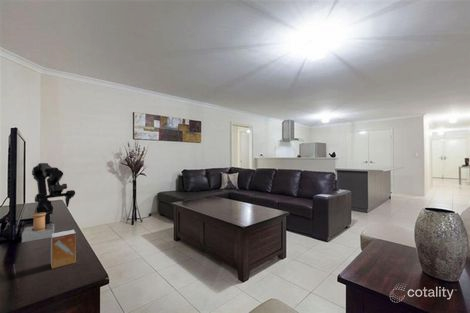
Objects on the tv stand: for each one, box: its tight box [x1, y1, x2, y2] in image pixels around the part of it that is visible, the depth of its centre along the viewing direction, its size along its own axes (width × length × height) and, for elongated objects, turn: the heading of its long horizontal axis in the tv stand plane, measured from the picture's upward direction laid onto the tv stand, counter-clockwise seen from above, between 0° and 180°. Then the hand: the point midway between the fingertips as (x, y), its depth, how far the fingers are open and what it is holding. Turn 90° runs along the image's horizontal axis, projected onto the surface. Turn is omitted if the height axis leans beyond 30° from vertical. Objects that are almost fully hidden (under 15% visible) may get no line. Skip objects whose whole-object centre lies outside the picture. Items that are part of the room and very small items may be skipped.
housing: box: [21, 223, 55, 243], centre depth 126 cm, size 13×13×4 cm
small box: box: [50, 229, 77, 270], centre depth 94 cm, size 8×6×13 cm
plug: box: [32, 213, 46, 231], centre depth 126 cm, size 6×6×13 cm
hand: (58, 208), depth 131 cm, fingers open, 9 cm apart
